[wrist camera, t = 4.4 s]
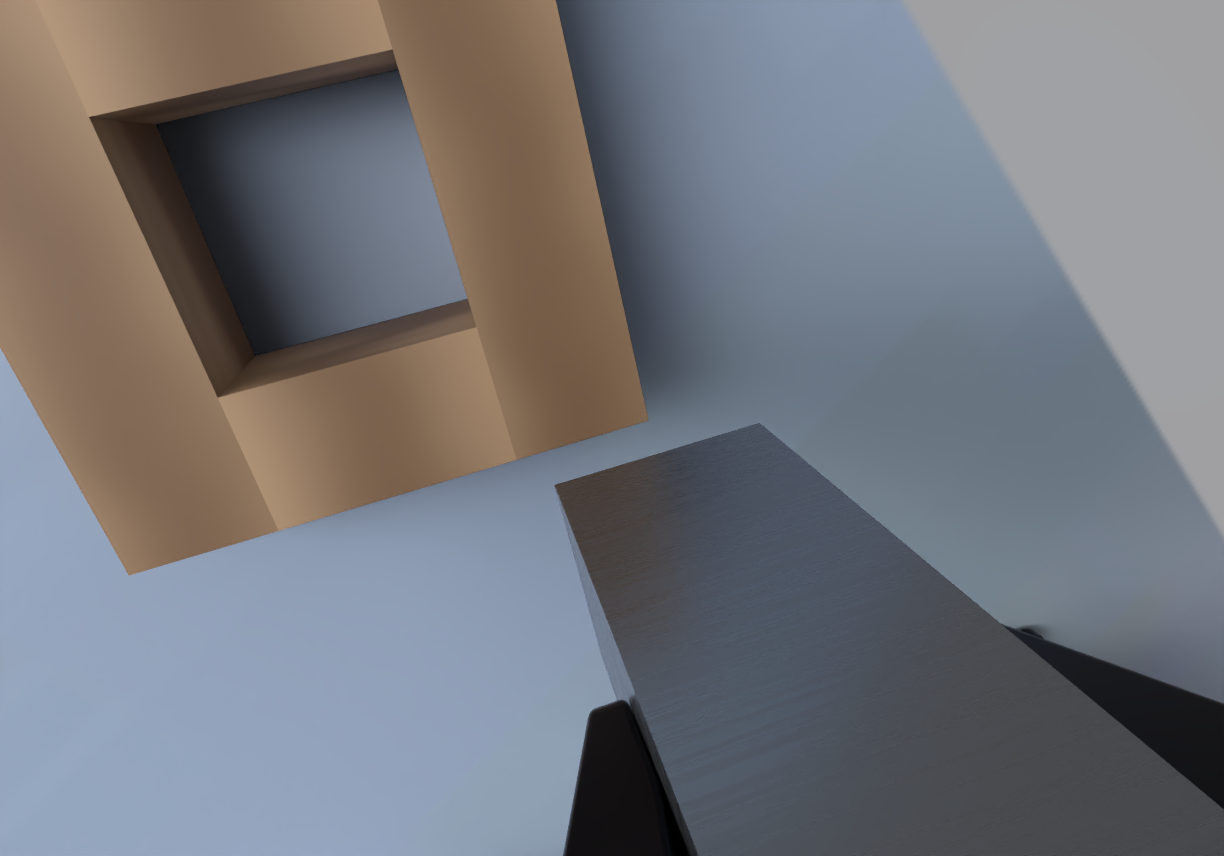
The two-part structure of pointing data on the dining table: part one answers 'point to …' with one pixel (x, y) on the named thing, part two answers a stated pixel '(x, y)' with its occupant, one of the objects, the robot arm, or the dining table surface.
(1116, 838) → the orange and grey peg
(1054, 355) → the dining table surface
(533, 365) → the block
